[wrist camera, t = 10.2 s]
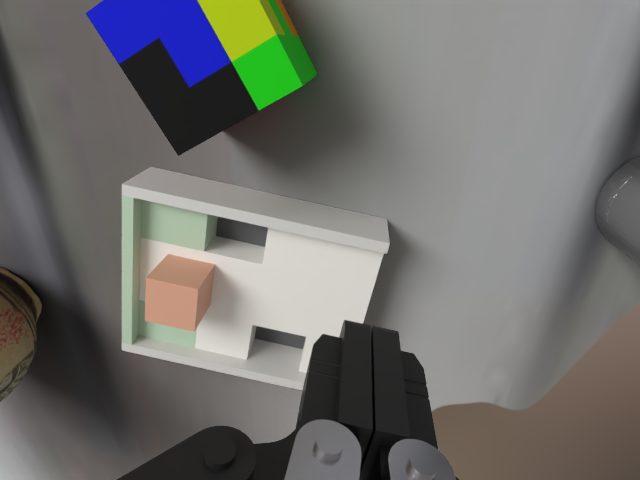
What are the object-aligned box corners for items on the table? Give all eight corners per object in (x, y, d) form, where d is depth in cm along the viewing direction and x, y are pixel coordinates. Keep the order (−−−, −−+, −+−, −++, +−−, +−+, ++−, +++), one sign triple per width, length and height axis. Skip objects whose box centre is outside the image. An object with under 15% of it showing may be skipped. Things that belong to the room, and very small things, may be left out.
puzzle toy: (155, 20, 36) (85, 13, 27) (257, -49, 33) (217, -83, 24) (221, 129, 39) (178, 155, 30) (318, 74, 37) (302, 85, 27)
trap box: (386, 219, 41) (389, 243, 36) (345, 362, 49) (342, 399, 44) (151, 166, 41) (121, 184, 36) (146, 318, 49) (121, 350, 44)
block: (214, 264, 40) (198, 289, 36) (210, 303, 42) (194, 331, 38) (168, 253, 40) (146, 277, 36) (165, 293, 42) (144, 320, 38)
